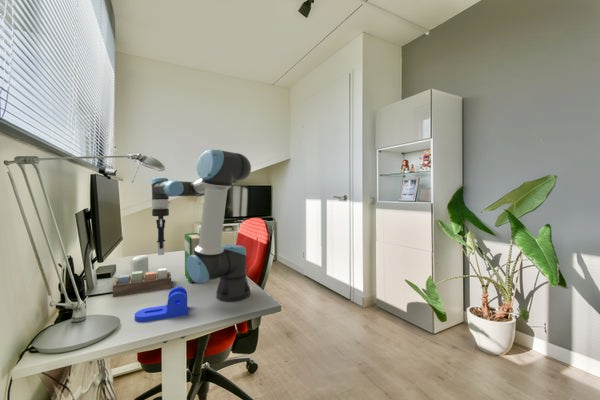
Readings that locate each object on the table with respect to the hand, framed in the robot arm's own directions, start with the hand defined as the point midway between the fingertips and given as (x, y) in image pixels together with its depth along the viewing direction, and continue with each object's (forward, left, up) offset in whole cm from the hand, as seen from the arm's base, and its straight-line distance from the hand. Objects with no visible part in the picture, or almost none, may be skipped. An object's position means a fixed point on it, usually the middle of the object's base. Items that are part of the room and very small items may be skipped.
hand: (161, 254), depth 135 cm
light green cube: (0, +10, -12) cm, 16 cm away
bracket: (-37, 0, -16) cm, 40 cm away
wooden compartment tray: (0, +8, -16) cm, 18 cm away
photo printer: (+21, +11, -16) cm, 29 cm away
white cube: (0, -1, -12) cm, 12 cm away
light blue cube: (0, +16, -13) cm, 20 cm away
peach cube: (0, +5, -13) cm, 14 cm away
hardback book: (+6, -16, -16) cm, 24 cm away
